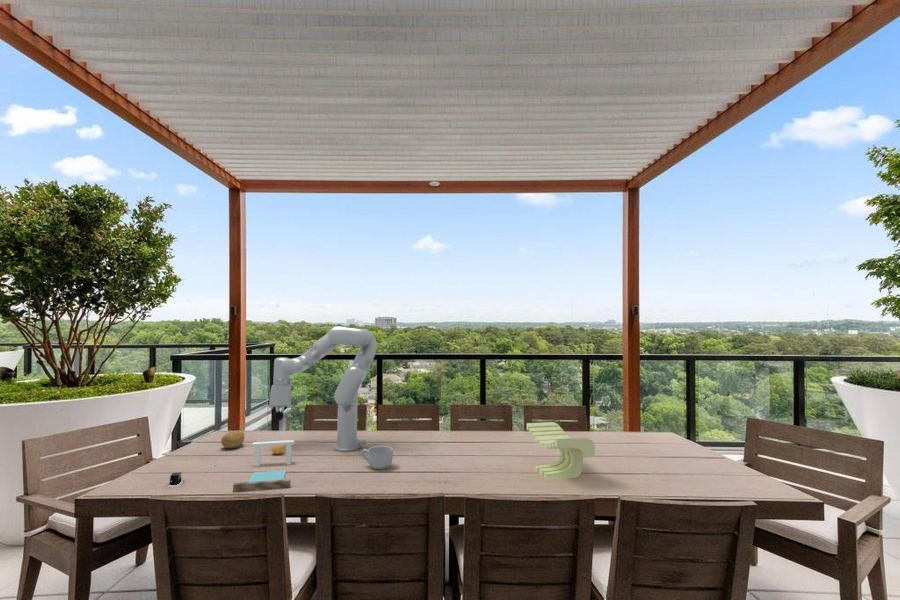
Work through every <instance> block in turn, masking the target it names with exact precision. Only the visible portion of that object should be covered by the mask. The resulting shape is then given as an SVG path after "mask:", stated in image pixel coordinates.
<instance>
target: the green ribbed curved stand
mask: <svg viewBox="0 0 900 600" xmlns="http://www.w3.org/2000/svg"><path fill="white" fill-rule="evenodd" d="M526 431H527V432H528V434H530V435H531V438H533V439H534V440H533V441H534V442H536V443H537V444H539V445H540V446H543V447H544V448H545V449H547V450H551V449H553V450H554V449H555V450H557V449H558V450H559V452H560V458H559V459H558V461H556V462H552V463H549V464H543V465H542V464H541V465H534V471H535V472H537V473H538V474H539V475H541V476H543V477H544V478H545V479H546V480H547V481H549V480H550V481H552V480H561V479H563V480H564V479H573V478H575V479H576V478H579V476H581V474H582V472H583V465H584V464H583V461H584V458H587V459H588V458H595V456H596V455H595V452H596V451H595V450H596V449H595V447H596V446H595V443H594V441H593V440H592V439H591V438H588V437H580V438H572V437H570V436H569V435H567V433H566V432H565V431H564V429H563V428H562V427H561V425H560V424H558V422H555V421H554V422H553V421H547V422H546V421H544V422H526Z"/></svg>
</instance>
